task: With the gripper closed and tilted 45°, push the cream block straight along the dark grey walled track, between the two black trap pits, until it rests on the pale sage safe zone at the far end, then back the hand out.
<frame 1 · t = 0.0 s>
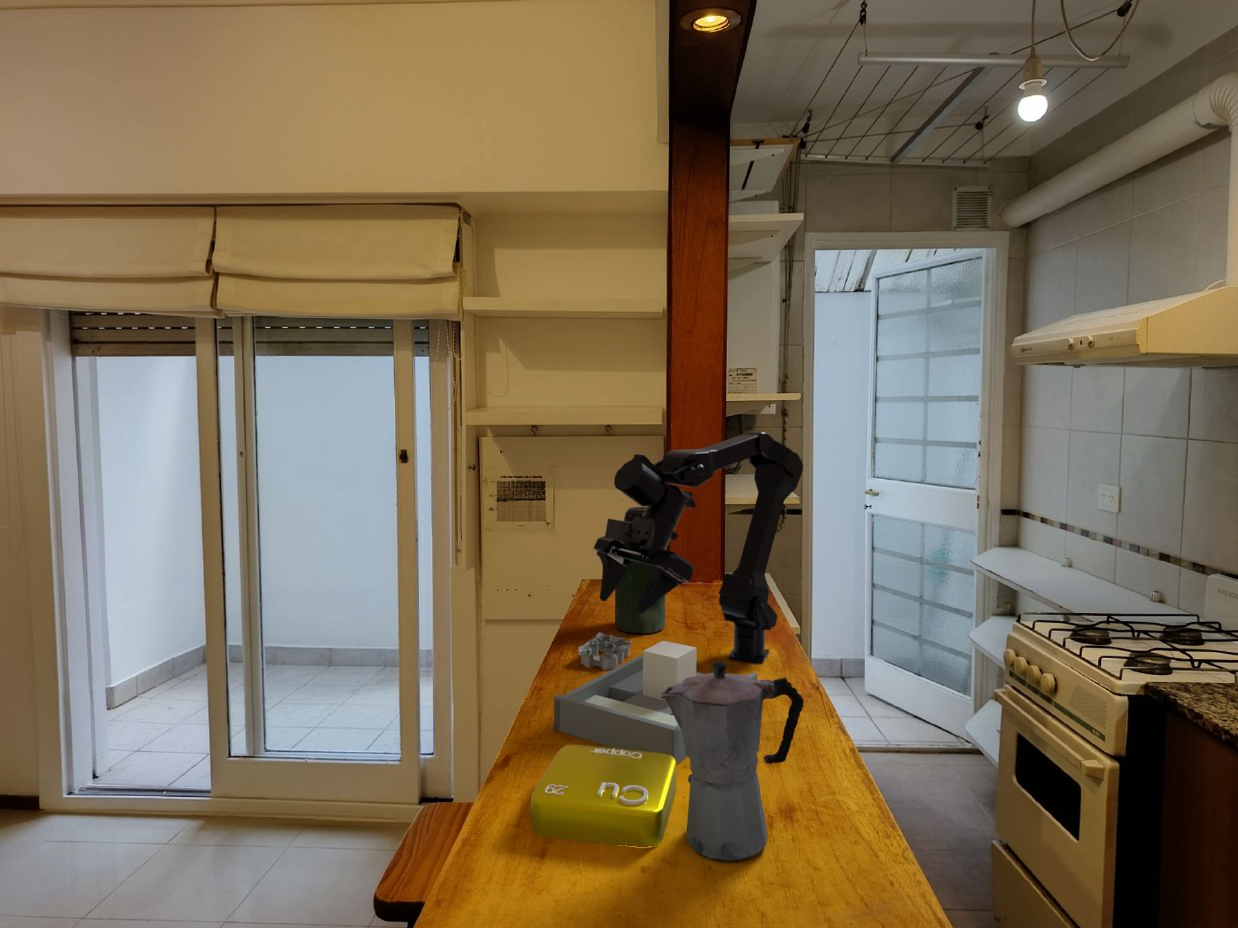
hand: (620, 606, 124), 15 cm above the worktop, tool tilted 35°, fingers open, 9 cm apart
element tile: (606, 811, 92), on the worktop
green capped bottle: (639, 628, 163), on the worktop
moka pot: (729, 840, 86), on the worktop
trap track: (630, 734, 112), on the worktop
cream block: (669, 693, 121), point 2 cm above the worktop, touching trap track
egg carton: (605, 662, 143), on the worktop
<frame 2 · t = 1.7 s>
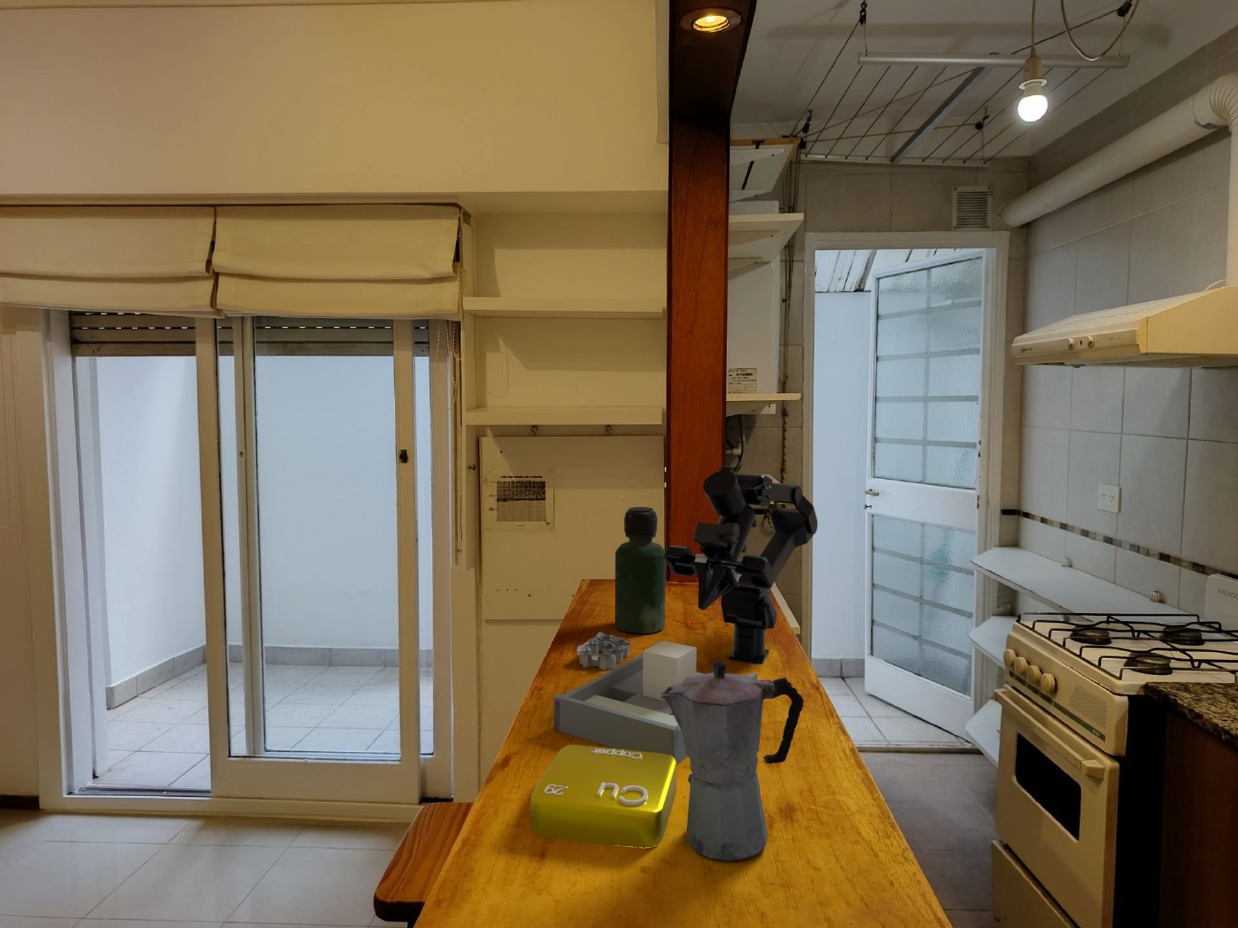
hand: (700, 608, 128), 14 cm above the worktop, tool tilted 45°, fingers closed
nothing on the worktop moved.
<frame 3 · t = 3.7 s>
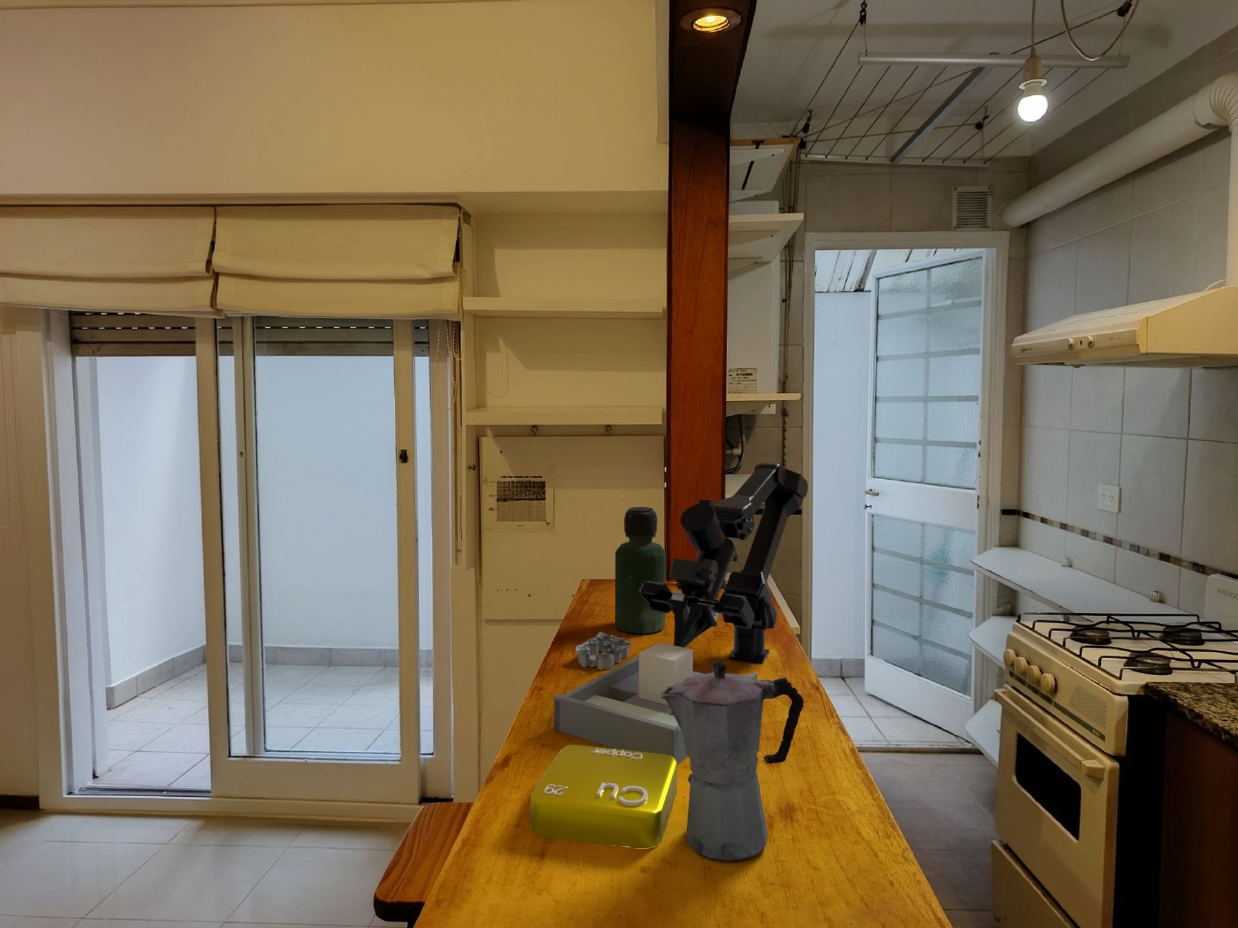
hand: (676, 649, 122), 9 cm above the worktop, tool tilted 45°, fingers closed
cream block: (665, 695, 120), point 2 cm above the worktop, touching trap track
everything else where it was.
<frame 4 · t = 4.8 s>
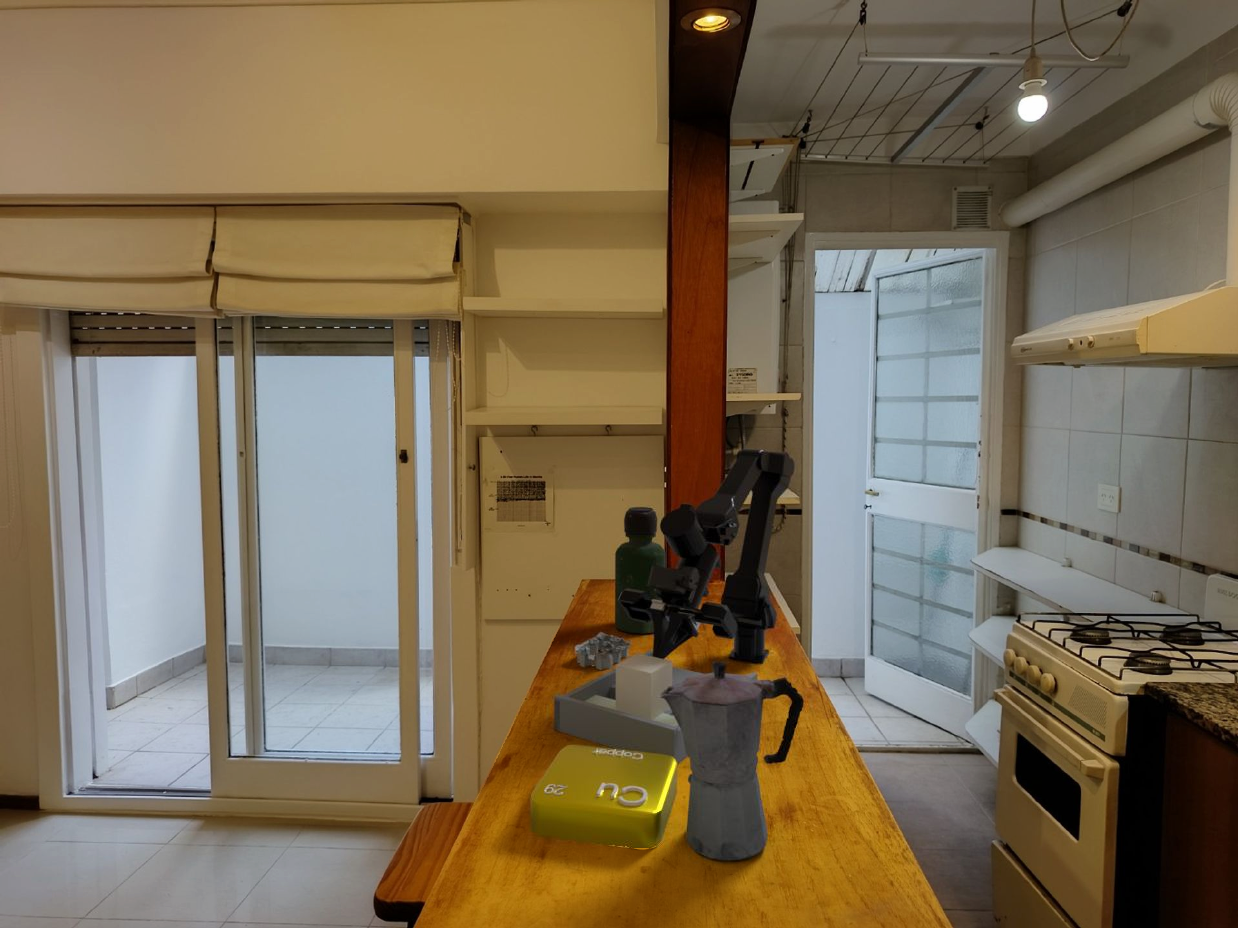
hand: (655, 660, 117), 9 cm above the worktop, tool tilted 45°, fingers closed, pressing on cream block
cream block: (644, 709, 115), point 2 cm above the worktop, touching gripper, trap track
everything else where it was.
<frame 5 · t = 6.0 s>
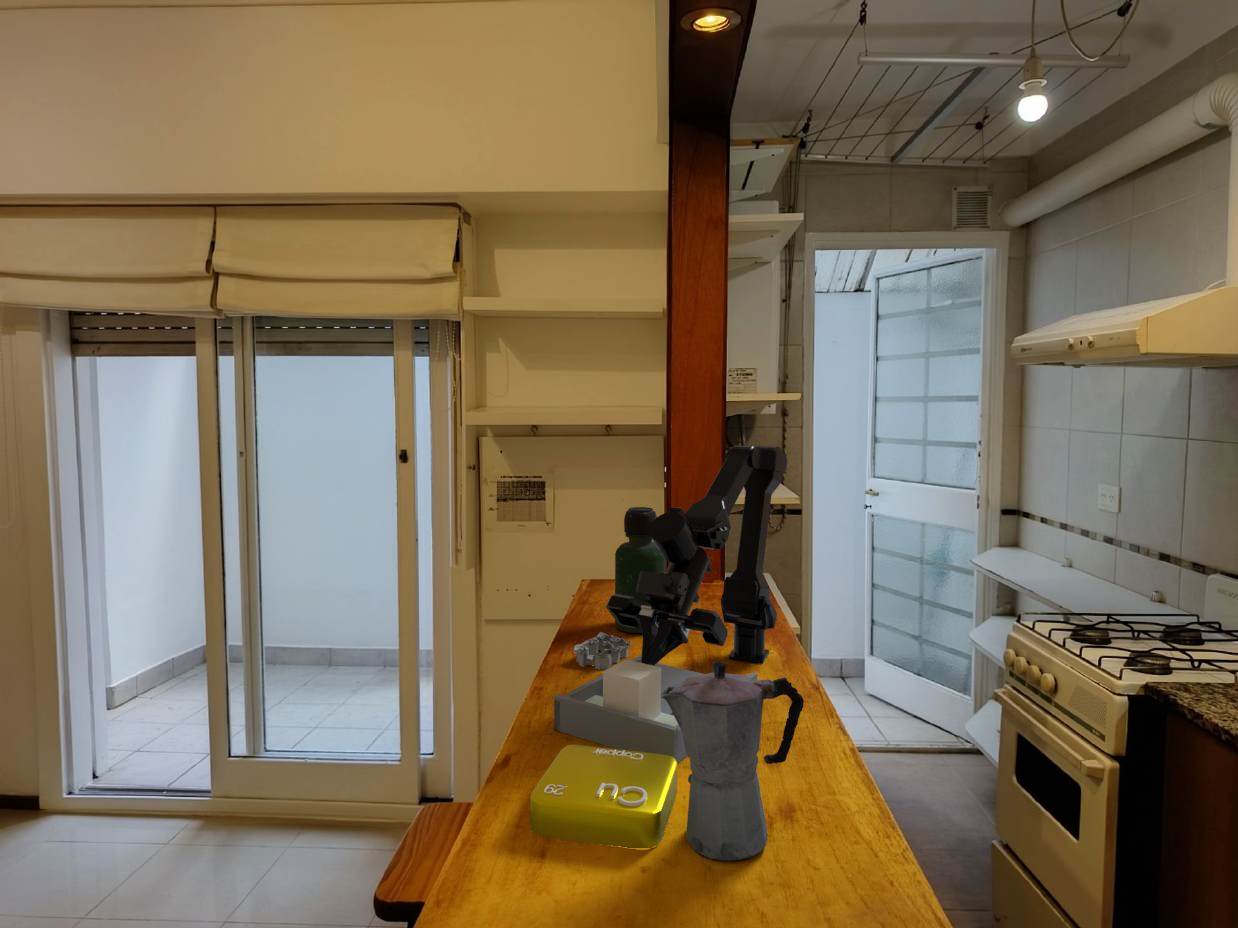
hand: (644, 668, 114), 9 cm above the worktop, tool tilted 45°, fingers closed
cream block: (632, 716, 112), point 2 cm above the worktop, touching trap track
everything else where it was.
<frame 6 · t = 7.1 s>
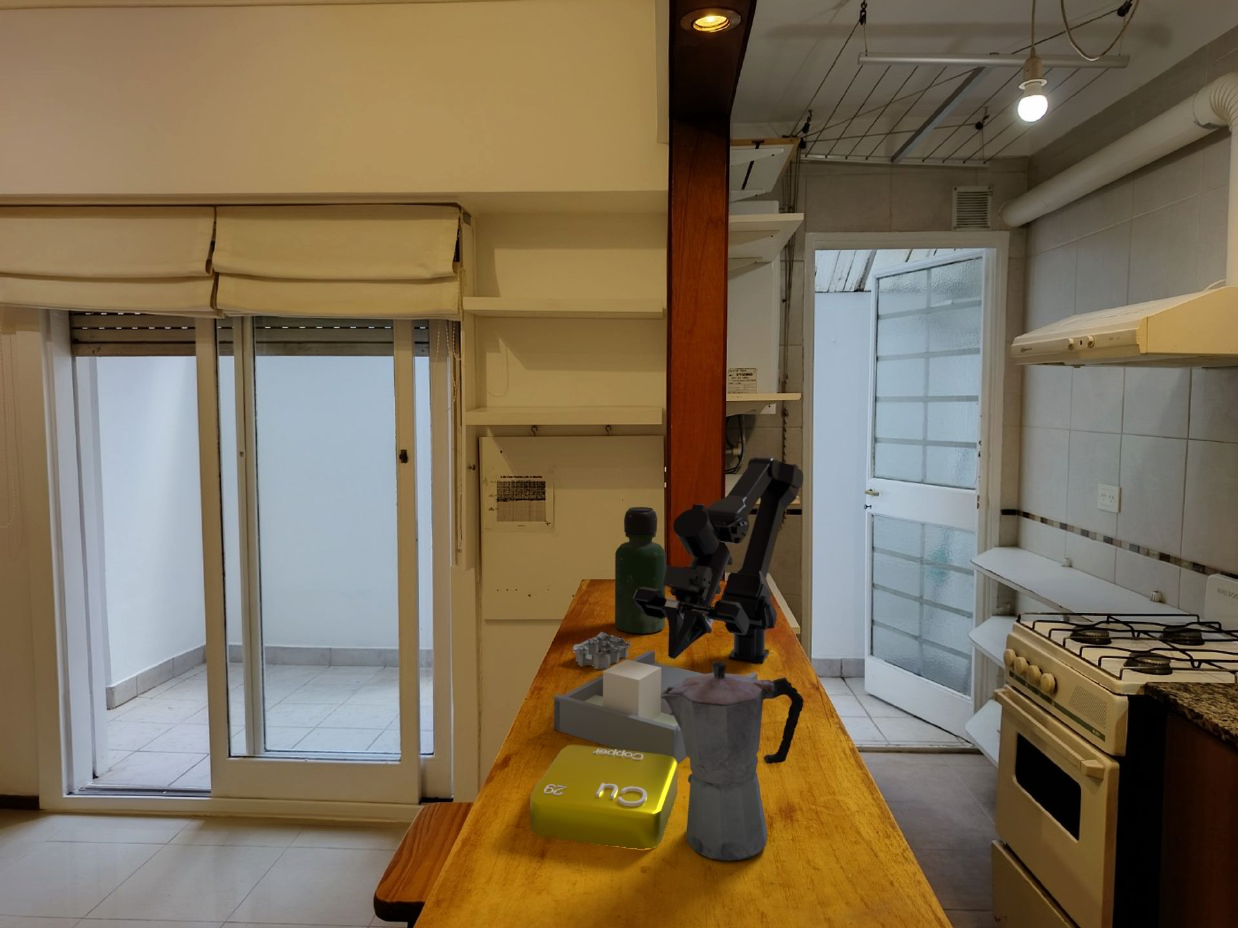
hand: (671, 657, 121), 8 cm above the worktop, tool tilted 45°, fingers closed
nothing on the worktop moved.
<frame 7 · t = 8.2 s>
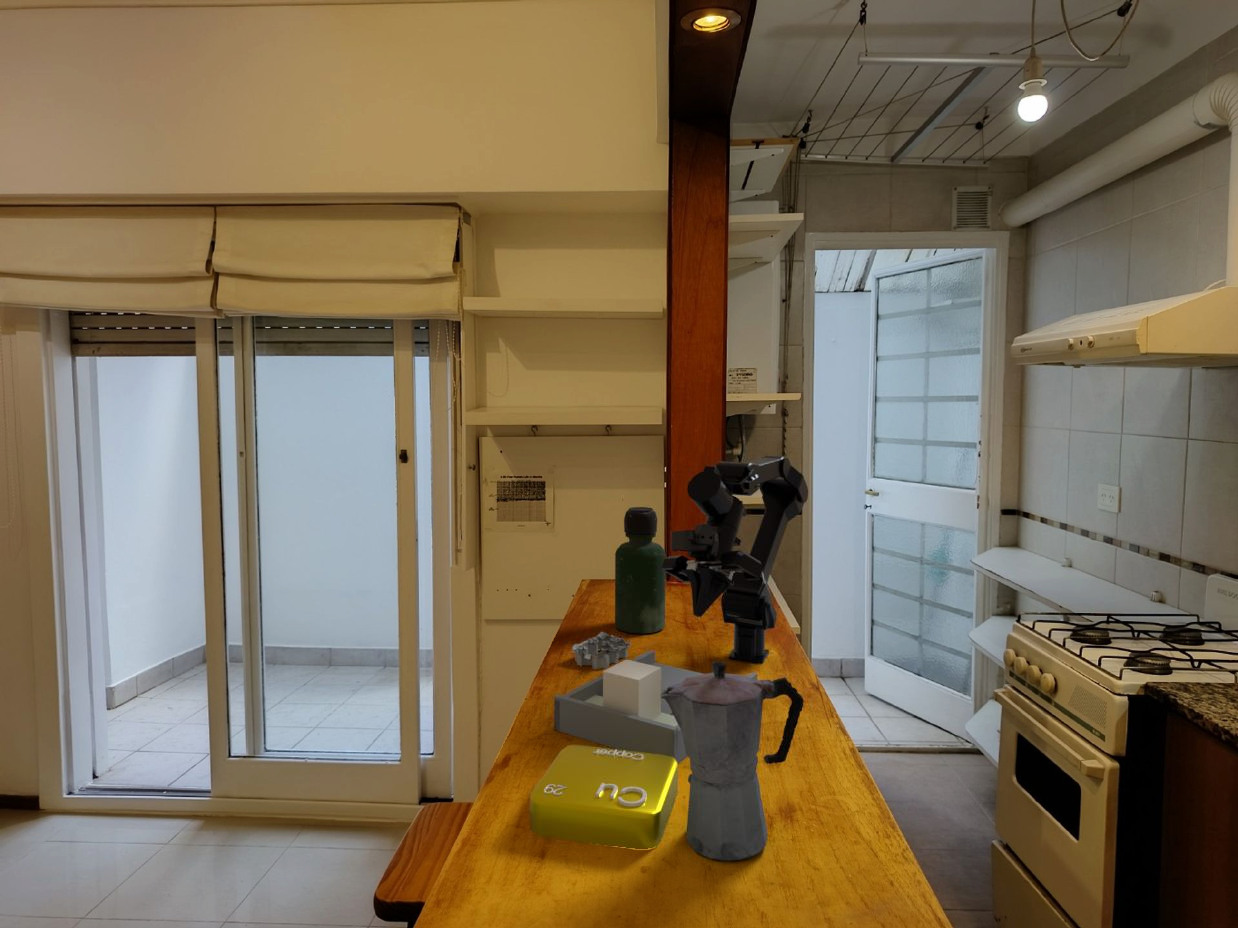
hand: (697, 616, 126), 13 cm above the worktop, tool tilted 35°, fingers closed
nothing on the worktop moved.
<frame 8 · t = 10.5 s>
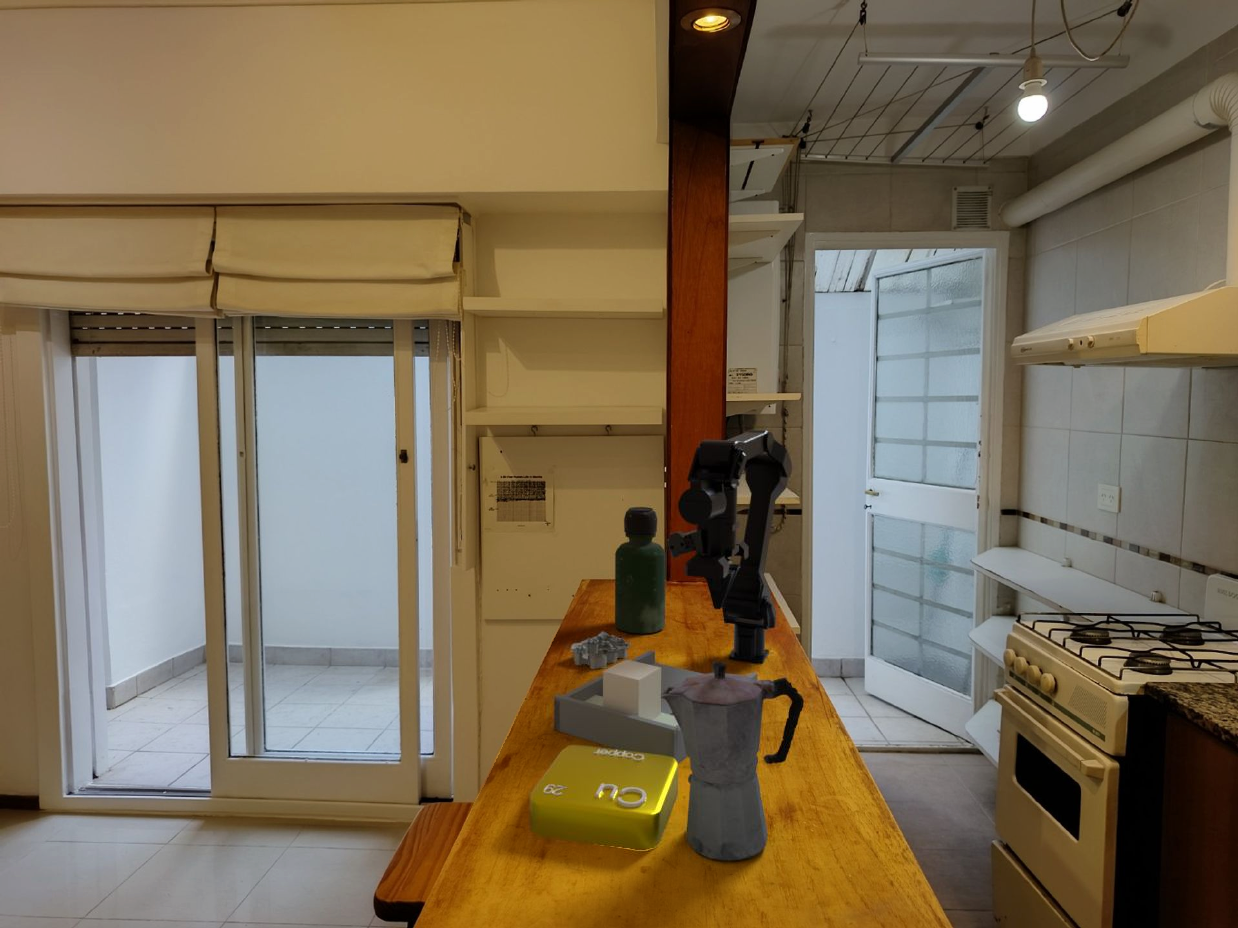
hand: (717, 608, 130), 13 cm above the worktop, tool pointing down, fingers closed
at the end: cream block 0.3 cm from the trap track (horizontally); cream block point 2.5 cm above the worktop; cream block tilted 0° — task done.
